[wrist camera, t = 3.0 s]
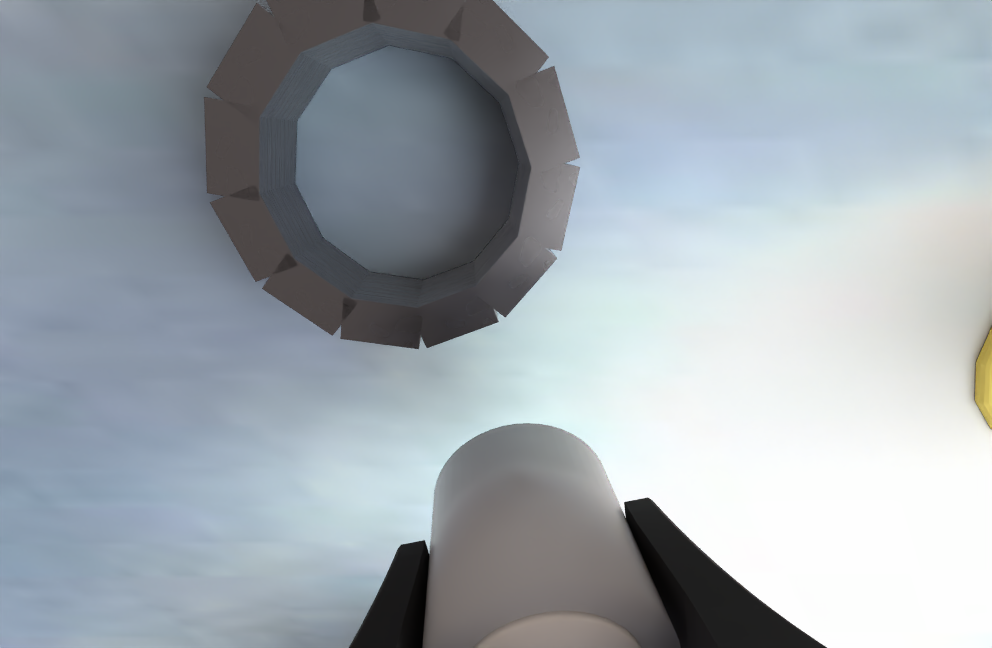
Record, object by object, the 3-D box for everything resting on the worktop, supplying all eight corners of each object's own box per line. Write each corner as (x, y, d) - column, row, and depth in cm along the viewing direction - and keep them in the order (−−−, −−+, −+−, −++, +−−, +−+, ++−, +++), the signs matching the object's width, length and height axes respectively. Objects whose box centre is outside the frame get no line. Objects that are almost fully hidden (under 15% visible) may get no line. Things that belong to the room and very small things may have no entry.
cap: (529, 589, 15) (561, 802, 10) (398, 513, 14) (363, 716, 9) (643, 484, 14) (740, 666, 9) (512, 390, 13) (544, 545, 8)
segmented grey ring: (435, 361, 18) (430, 401, 15) (195, 192, 15) (136, 204, 13) (614, 152, 16) (647, 155, 13) (370, -87, 13) (346, -147, 10)
